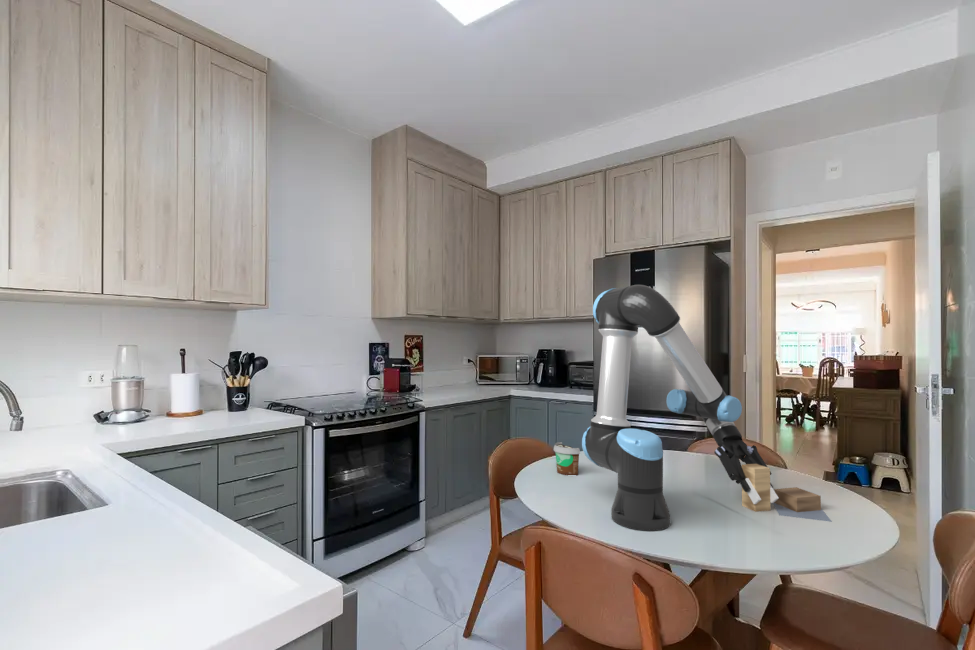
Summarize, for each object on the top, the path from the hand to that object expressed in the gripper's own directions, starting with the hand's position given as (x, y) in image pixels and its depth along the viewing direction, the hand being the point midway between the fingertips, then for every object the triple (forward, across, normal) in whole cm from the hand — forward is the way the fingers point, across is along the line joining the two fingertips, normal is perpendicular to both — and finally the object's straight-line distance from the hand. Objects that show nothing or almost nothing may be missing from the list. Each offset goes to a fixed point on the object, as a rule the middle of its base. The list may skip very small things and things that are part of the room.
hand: (766, 501), depth 131 cm
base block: (0, -13, -4) cm, 13 cm away
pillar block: (0, 0, -5) cm, 5 cm away
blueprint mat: (+1, -13, -4) cm, 13 cm away
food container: (-33, +40, -39) cm, 65 cm away
